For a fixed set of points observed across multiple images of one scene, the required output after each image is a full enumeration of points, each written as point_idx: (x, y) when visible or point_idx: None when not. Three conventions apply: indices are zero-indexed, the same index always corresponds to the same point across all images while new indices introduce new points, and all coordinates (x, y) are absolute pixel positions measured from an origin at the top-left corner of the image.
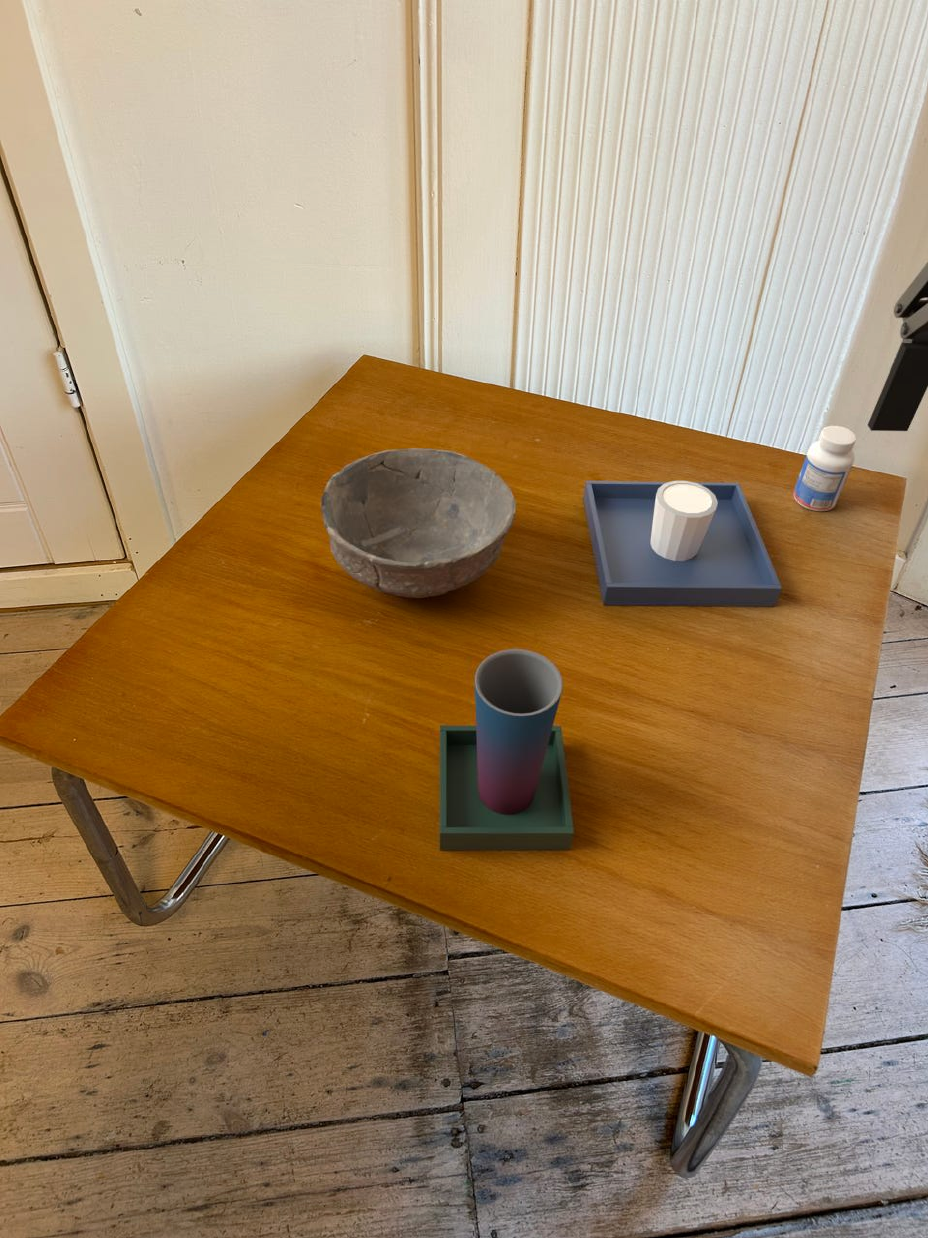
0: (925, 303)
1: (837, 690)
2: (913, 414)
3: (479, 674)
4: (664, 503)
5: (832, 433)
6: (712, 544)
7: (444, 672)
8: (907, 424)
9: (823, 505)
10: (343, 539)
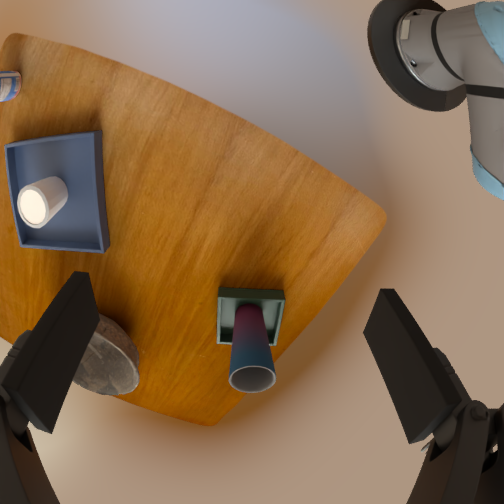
0: None
1: (180, 106)
2: (75, 293)
3: (245, 390)
4: (40, 224)
5: None
6: (51, 165)
7: (171, 328)
8: (84, 283)
9: (18, 82)
10: (127, 392)
